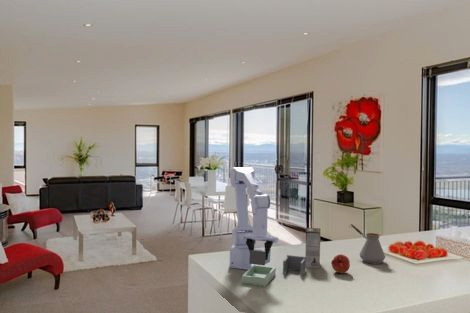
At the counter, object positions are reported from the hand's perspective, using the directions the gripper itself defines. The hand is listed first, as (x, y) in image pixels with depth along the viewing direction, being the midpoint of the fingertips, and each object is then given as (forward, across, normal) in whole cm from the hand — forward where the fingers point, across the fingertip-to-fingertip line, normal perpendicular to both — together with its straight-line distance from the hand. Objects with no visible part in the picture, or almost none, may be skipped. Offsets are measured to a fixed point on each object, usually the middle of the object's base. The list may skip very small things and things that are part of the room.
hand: (259, 258), depth 163 cm
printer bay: (+9, +11, +16) cm, 22 cm away
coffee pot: (+9, +39, +50) cm, 64 cm away
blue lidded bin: (+2, 0, +2) cm, 3 cm away
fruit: (+9, +30, +23) cm, 39 cm away
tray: (+9, 0, +2) cm, 9 cm away
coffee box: (+9, +17, +30) cm, 36 cm away
